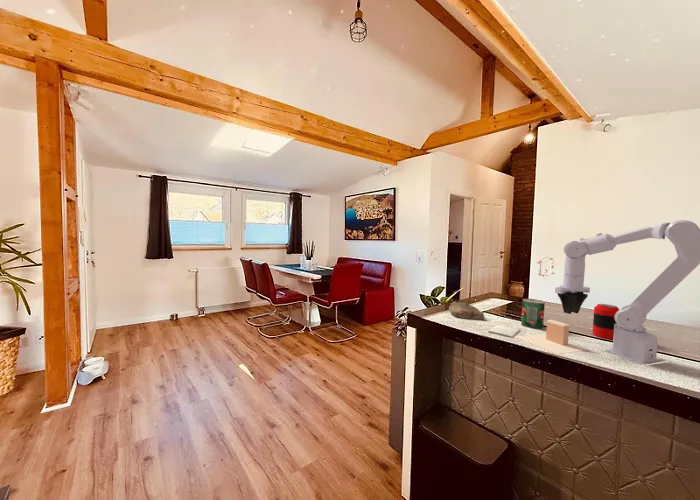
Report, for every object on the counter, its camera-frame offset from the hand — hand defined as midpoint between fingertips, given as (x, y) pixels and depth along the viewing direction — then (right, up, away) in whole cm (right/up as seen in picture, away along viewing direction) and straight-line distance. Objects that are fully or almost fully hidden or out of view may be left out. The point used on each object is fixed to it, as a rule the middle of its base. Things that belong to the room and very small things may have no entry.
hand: (570, 312), depth 103 cm
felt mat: (-10, -10, -3) cm, 14 cm away
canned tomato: (-3, -10, +17) cm, 20 cm away
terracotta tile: (-6, -10, -2) cm, 12 cm away
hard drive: (-19, -10, +9) cm, 24 cm away
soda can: (+19, -11, +8) cm, 23 cm away
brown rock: (-24, -9, +36) cm, 44 cm away
